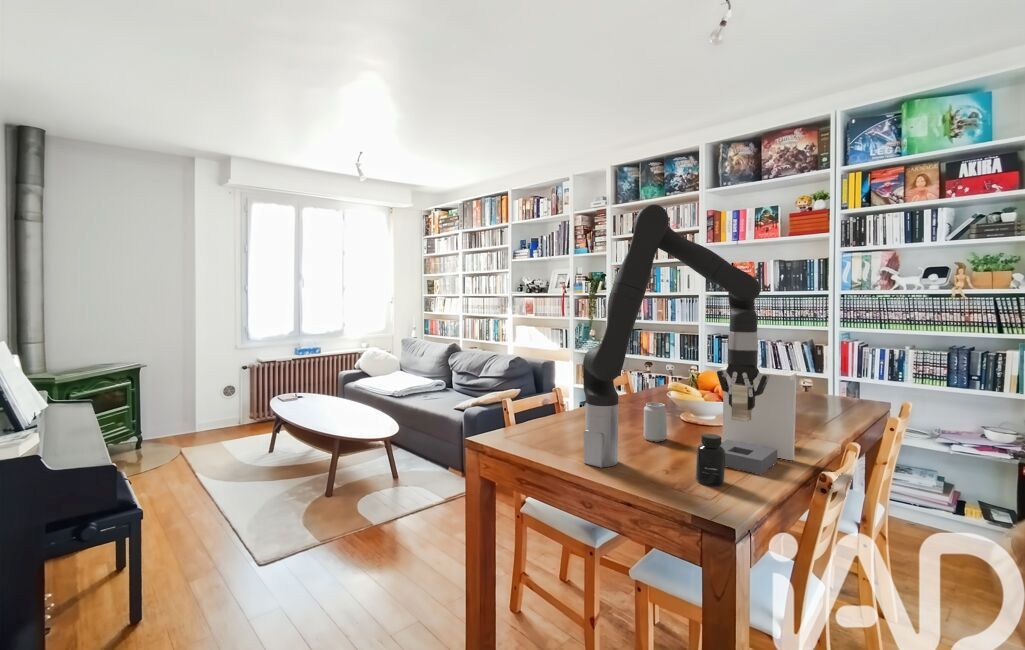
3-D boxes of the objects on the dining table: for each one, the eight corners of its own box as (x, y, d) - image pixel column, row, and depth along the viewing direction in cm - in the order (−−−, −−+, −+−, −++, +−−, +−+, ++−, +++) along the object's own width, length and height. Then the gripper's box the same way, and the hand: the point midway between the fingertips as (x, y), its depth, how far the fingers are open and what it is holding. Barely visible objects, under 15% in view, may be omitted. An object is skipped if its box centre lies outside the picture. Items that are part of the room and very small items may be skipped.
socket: (761, 475, 133) (761, 460, 133) (708, 463, 142) (709, 449, 142) (777, 462, 143) (777, 448, 143) (727, 452, 153) (727, 439, 152)
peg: (746, 421, 138) (747, 386, 137) (731, 419, 141) (732, 384, 140) (751, 419, 141) (752, 384, 140) (736, 417, 144) (737, 382, 143)
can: (664, 436, 170) (664, 401, 170) (668, 442, 163) (669, 406, 162) (641, 435, 171) (642, 401, 170) (645, 442, 164) (645, 406, 163)
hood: (787, 465, 140) (790, 375, 139) (716, 451, 154) (717, 368, 153) (794, 460, 145) (796, 373, 144) (724, 446, 159) (725, 366, 157)
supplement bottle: (707, 488, 124) (708, 440, 123) (690, 478, 131) (691, 433, 130) (730, 485, 126) (731, 438, 125) (712, 476, 132) (713, 431, 132)
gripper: (712, 347, 142) (711, 406, 143) (765, 350, 132) (764, 414, 133) (722, 345, 147) (721, 402, 148) (774, 348, 137) (773, 410, 138)
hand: (741, 408), depth 140 cm, fingers closed on peg, 4 cm apart
